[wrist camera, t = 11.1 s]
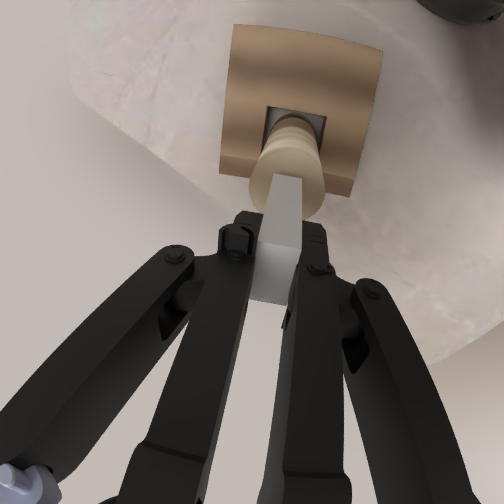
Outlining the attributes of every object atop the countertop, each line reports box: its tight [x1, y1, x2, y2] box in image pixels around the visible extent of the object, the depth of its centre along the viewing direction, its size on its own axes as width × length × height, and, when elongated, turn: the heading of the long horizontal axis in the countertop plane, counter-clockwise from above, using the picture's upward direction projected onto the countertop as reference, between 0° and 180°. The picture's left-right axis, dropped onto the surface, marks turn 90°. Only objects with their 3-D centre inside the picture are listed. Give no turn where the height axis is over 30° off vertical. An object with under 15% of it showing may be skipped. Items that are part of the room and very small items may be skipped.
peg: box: [249, 113, 325, 221], centre depth 23 cm, size 4×4×16 cm
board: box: [219, 24, 383, 197], centre depth 26 cm, size 16×14×3 cm
